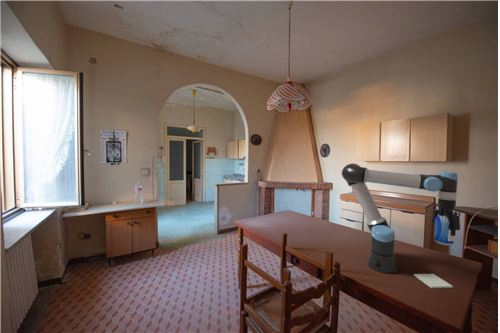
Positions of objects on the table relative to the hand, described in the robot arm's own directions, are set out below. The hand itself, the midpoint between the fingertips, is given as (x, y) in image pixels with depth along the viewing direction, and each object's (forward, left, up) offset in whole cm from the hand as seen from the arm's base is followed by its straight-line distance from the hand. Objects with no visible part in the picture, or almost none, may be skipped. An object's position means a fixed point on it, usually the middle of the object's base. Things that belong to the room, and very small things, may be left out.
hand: (444, 238), depth 121 cm
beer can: (0, +1, -3) cm, 3 cm away
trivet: (-16, -11, -19) cm, 27 cm away
